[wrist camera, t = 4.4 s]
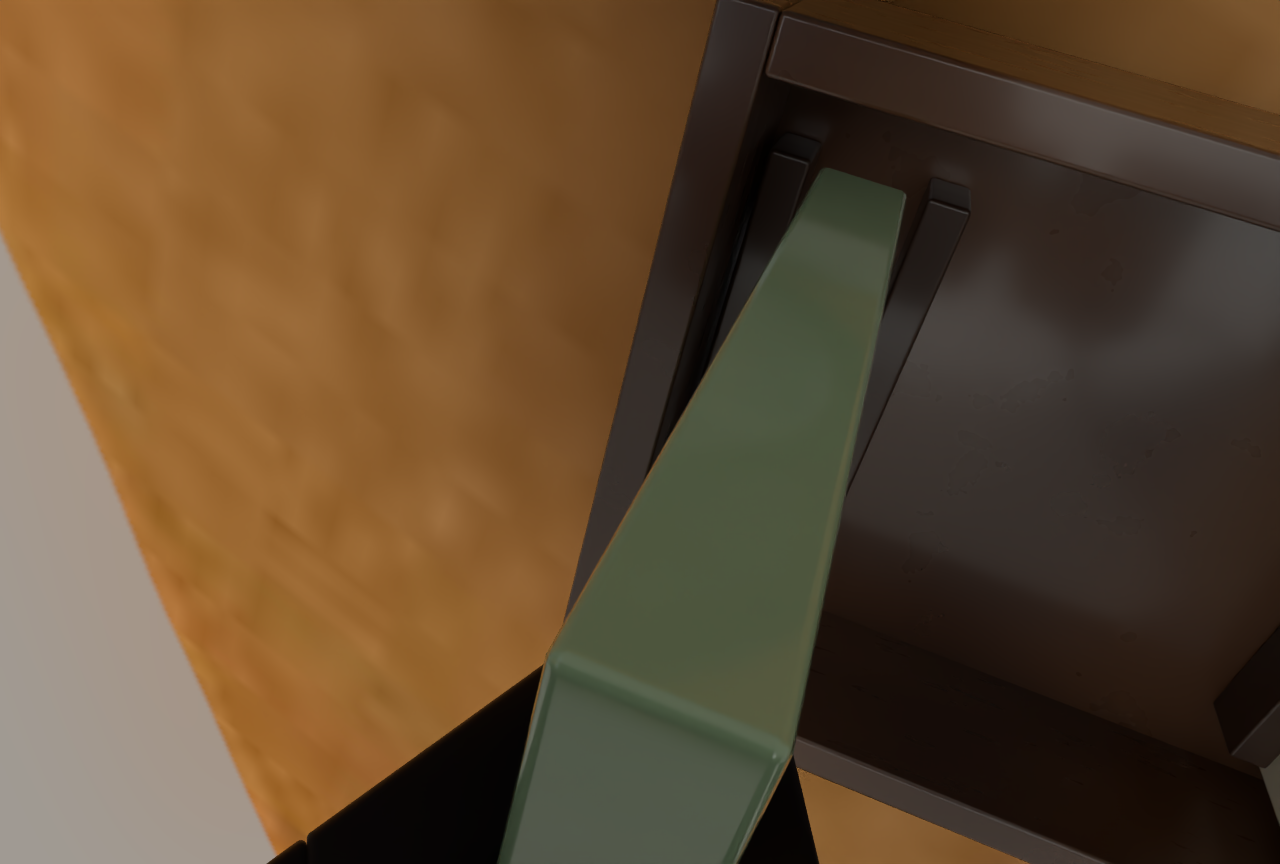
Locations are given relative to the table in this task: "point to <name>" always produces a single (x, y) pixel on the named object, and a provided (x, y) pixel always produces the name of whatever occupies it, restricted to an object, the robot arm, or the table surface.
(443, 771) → the robot arm
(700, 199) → the coaster holder
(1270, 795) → the cream coaster
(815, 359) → the sage coaster
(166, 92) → the table surface
